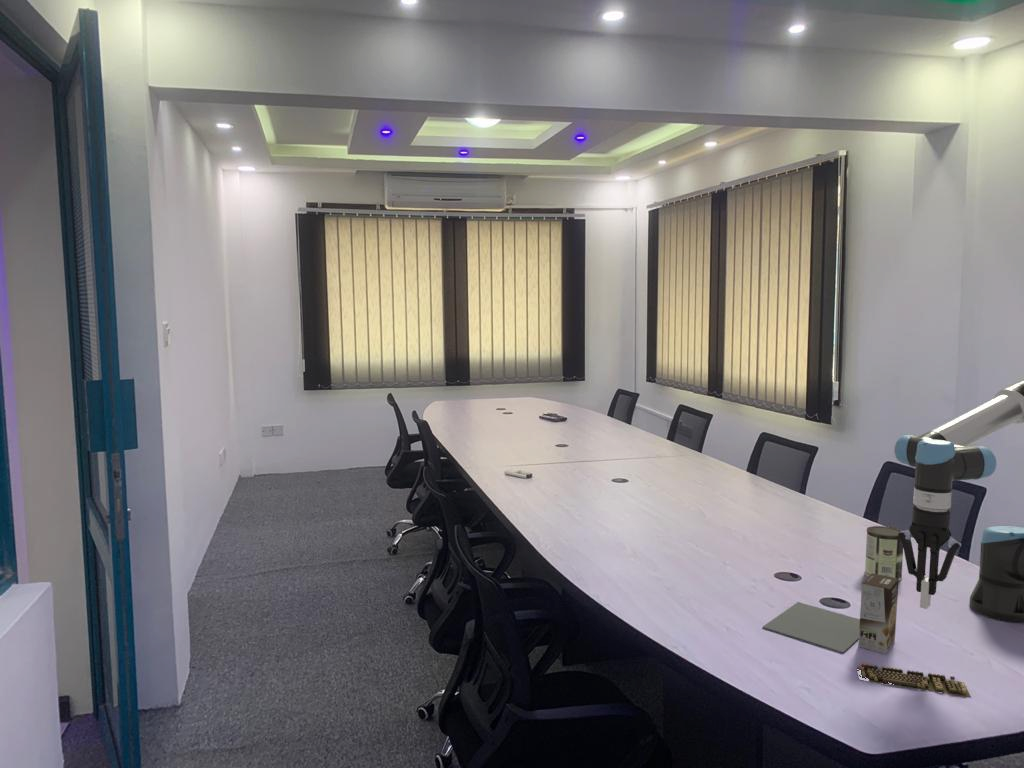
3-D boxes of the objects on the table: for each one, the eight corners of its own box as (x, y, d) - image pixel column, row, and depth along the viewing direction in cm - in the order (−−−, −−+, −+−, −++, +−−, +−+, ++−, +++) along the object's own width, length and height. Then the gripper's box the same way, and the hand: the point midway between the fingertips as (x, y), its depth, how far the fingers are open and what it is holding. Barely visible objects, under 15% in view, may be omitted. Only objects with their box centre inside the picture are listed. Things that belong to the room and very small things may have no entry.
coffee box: (886, 654, 174) (890, 589, 172) (857, 646, 178) (861, 582, 176) (895, 641, 181) (899, 578, 179) (867, 633, 185) (871, 572, 183)
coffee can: (886, 568, 231) (889, 525, 229) (909, 580, 221) (912, 535, 219) (857, 570, 229) (859, 526, 228) (878, 582, 219) (881, 536, 218)
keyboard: (858, 684, 162) (858, 675, 161) (854, 665, 170) (854, 657, 170) (972, 701, 154) (972, 692, 154) (962, 681, 163) (962, 672, 163)
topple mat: (874, 624, 190) (874, 623, 190) (843, 653, 174) (843, 652, 174) (797, 603, 204) (798, 601, 204) (762, 628, 188) (762, 626, 188)
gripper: (895, 505, 171) (889, 603, 173) (959, 516, 162) (952, 619, 164) (905, 499, 176) (899, 594, 178) (968, 509, 167) (961, 609, 170)
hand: (925, 606), depth 171 cm, fingers closed
